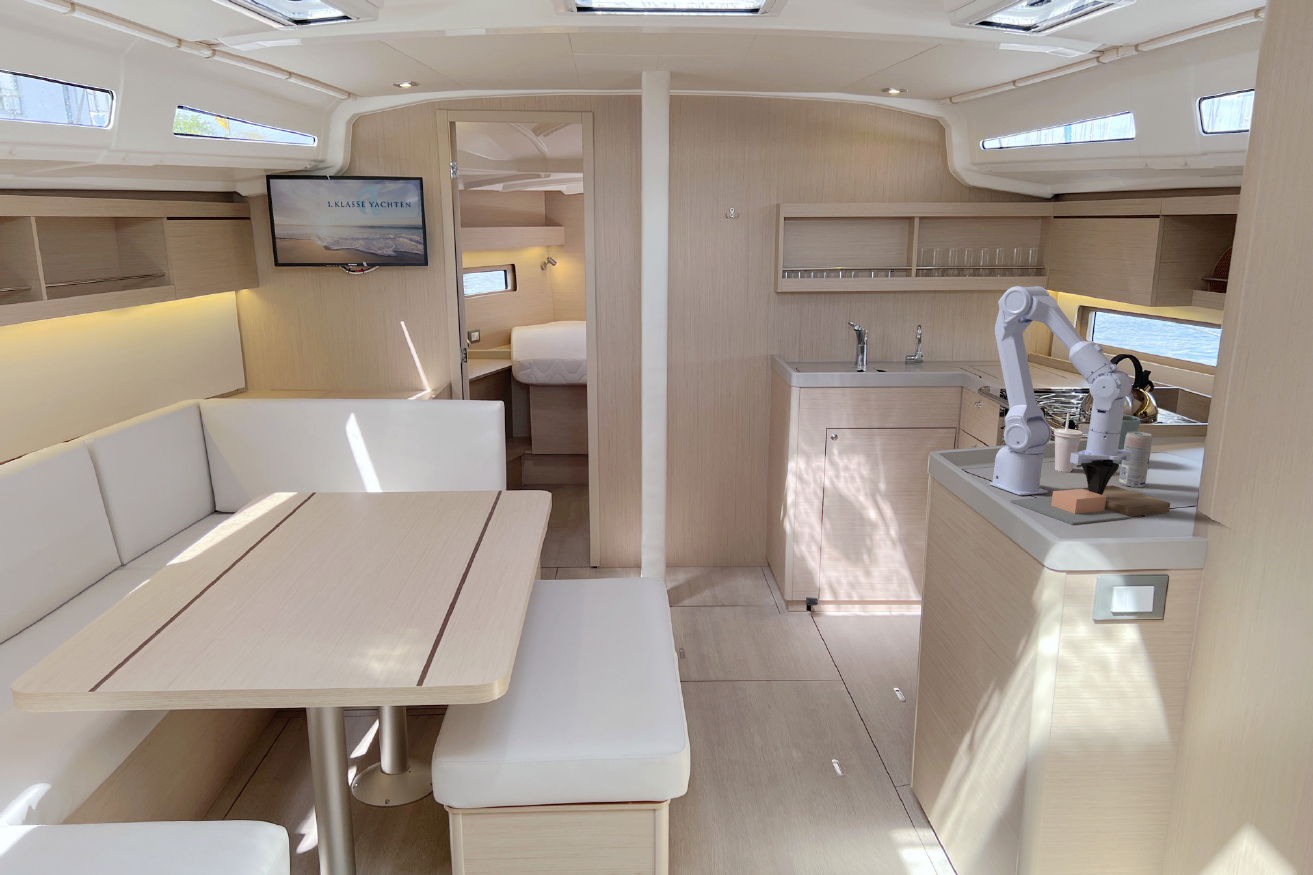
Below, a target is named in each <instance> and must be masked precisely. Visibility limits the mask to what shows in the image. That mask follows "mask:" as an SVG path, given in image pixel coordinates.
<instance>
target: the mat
mask: <svg viewBox="0 0 1313 875" xmlns="http://www.w3.org/2000/svg"><path fill="white" fill-rule="evenodd" d="M1010 502H1011V503H1012V504H1016V505H1018V506H1020V507H1022V508H1026V509H1027V510H1028V509H1029V510H1031V511H1034V512H1037V513H1040V514H1042V515H1045V516H1047V517H1050V518H1053V519H1056V520H1058V521H1061V522H1063V523H1066V524H1069V525H1071V526H1073V525H1074V526H1075V525H1085V524H1092V523H1102V522H1111V521H1112V522H1113V521H1119V520H1127V519H1130V517H1129V516H1126V515H1123V514H1120V513H1117V512H1114V511H1111V510H1108V509H1104V511H1097V512H1087V513H1077V514H1074V513H1071V512H1068V511H1065V510H1063V509H1060V508H1057V507H1054V506H1051V503H1052V495H1050V496H1043V497H1040V496H1039V497H1032V498H1020V499H1011V500H1010Z"/></svg>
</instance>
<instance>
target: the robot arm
mask: <svg viewBox="0 0 1313 875" xmlns="http://www.w3.org/2000/svg"><path fill="white" fill-rule="evenodd" d="M997 303H998V313H997V316H996V317H997V318H996V321H995V325H994V336H995V341H996V346H997V350H998V351H997V352H998V355H999V362H1000V365H1001V372H1002V377H1003V382H1004V387H1005V392H1006V396H1007V401H1008V402H1007V403H1008V408H1009V409H1008V411H1007V414H1006V415H1005V417H1004V422H1005V428H1004V432H1003V440H1004V443H1005V446H1003V447H1001V448H1000V449H999V450H998V451H997V453H996V455H995V459H994V468H993V476H992V481H991V482H989V485H990V486H994V488H995V487H996V488H999V489H1001V490H1004V491H1007V492H1010V493H1013V494H1015V495H1018V496H1028V495H1029V496H1030V495H1038V494H1039V495H1040V494H1048V492H1049V491H1048V490H1047V489H1044V488H1041V487H1040V483H1041V482H1040V481H1041V476H1042V475H1041V474H1042V468H1043V461H1044V460H1043V459H1044V452H1045V445H1047V444H1048V443H1049V442H1050V440H1051V438H1052V435H1053V434H1052V432H1053V431H1052V428H1051V425H1050V423H1048V422H1047V420H1046V417H1045V415H1044V411H1043V410H1042V409H1041V408H1040V407H1039V405H1038V404H1037V401H1036V397H1035V391H1034V386H1033V382H1032V376H1031V371H1030V366H1029V361H1028V355H1027V350H1026V345H1025V340H1024V336H1023V334H1024V332H1025V331H1026V329H1027V328H1028V327H1029V325H1031V323H1032V322H1033V321H1035V322H1039V323H1042V324H1044V325H1045V326H1046V327H1047V328H1048V330H1050V331H1051V333H1053V334H1054V336H1055V337H1056V338H1057V340H1059V341H1060V342H1061V343H1062V345H1064V347H1066V348H1067V350H1068V351H1069V352H1068V353H1069V355H1068V360H1069V362H1070V364H1072V365H1073V366H1074V367H1075V369H1076V370H1077V371H1078V373H1079V374H1080V375H1081V376H1082V377H1083V379H1084V380H1085V381H1086V382H1087V383H1088V384H1089V388H1088V389H1089V393H1090V395H1091V397H1092V398H1093V400H1092V402H1093V403H1092V408H1091V414H1090V420H1089V421H1090V422H1089V428H1088V435H1087V442H1086V449H1083V450H1080V451H1077V452H1076V453H1071V458H1070V462H1071V463H1074V465H1081V468H1083V471H1084V475H1085V477H1086V482H1087V488H1088V490H1089V491H1091V492H1094V493H1097V494H1100V495H1102V494H1103V492H1104V490H1105V488H1106V486H1108V483H1109V482H1110V480H1111V479H1112V477H1113V475H1115V473H1116V472H1117V471H1118V470H1119V468H1120V467H1119V464H1116V463H1113V461H1117V460H1125V461H1130V457H1131V451H1127V450H1118V445H1119V439H1120V432H1121V426H1122V419H1123V414H1124V413H1125V412H1124V410H1125V403H1126V397H1128V396H1129V395H1130V393H1131V392H1132V389H1133V382H1132V379H1131V378H1130V376H1129V374H1128V373H1127V372H1125V371H1123V370H1119V366H1118V365H1117V363H1114V364H1113V363H1112V362H1111V361H1110V358H1108V357H1107V355H1105V353H1104V352H1103V350H1104V347H1103V346H1102V345H1101V344H1096V343H1095V342H1094V341H1086V340H1085V339H1084V338H1083V337H1082V335H1081V334H1080V333H1079V331H1078V330H1077V329H1076V328H1075V326H1074V324H1073V323H1072V322H1071V321H1070V320H1069V318H1068V317H1067V316H1066V314H1065V313H1064V311H1063V310H1062V308H1061V307H1060V306H1059V304H1058V302H1057V299H1055V298H1054V297H1053V296H1052V295H1050V293H1049V292H1048V290H1047V289H1046V288H1044V287H1042V286H1039V285H1038V286H1037V285H1036V286H1030V287H1029V286H1018V285H1015V286H1012V287H1010V288H1008V289H1007V290H1006V291H1005V292H1004V293H1003V295H1001V297H1000V298H999V300H998V301H997Z"/></svg>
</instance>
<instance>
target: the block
mask: <svg viewBox="0 0 1313 875" xmlns="http://www.w3.org/2000/svg"><path fill="white" fill-rule="evenodd" d="M1073 489H1074V490H1071V489H1065V490H1054V491H1052V495H1051V496H1052V503H1051V506H1054V507H1057V508H1060V509H1063V510H1065V511H1068V512H1071V513H1074V514H1077V513H1087V512H1097V511H1104V509H1105V502H1106V496H1103V495H1100V494H1097V493H1094V492H1091V491H1088V490H1084V489H1078V488H1073Z"/></svg>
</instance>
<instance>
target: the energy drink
mask: <svg viewBox="0 0 1313 875" xmlns="http://www.w3.org/2000/svg"><path fill="white" fill-rule="evenodd" d="M1152 446H1153V434H1152V433H1149V432H1144V431H1142V432H1141V431H1138V432H1136V431H1129V432H1127V434H1126V437H1125V444H1124V450H1127V451H1131V457H1130V461H1125V460H1122V464H1121V467H1120V472H1119V477H1118V482H1119V484H1120V483H1121V484H1123V485H1122V486H1124V485H1127V486H1126V487H1128V486H1132V487H1131V488H1135V487H1141V488H1144V487H1146V483H1147V475H1148V469H1149V465H1150V464H1149V463H1150V458H1151V452H1152V451H1151V449H1152ZM1121 484H1120V485H1121Z"/></svg>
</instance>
